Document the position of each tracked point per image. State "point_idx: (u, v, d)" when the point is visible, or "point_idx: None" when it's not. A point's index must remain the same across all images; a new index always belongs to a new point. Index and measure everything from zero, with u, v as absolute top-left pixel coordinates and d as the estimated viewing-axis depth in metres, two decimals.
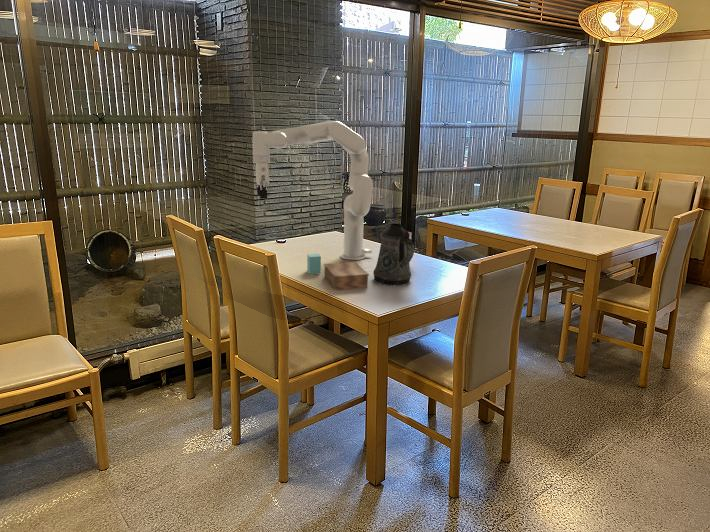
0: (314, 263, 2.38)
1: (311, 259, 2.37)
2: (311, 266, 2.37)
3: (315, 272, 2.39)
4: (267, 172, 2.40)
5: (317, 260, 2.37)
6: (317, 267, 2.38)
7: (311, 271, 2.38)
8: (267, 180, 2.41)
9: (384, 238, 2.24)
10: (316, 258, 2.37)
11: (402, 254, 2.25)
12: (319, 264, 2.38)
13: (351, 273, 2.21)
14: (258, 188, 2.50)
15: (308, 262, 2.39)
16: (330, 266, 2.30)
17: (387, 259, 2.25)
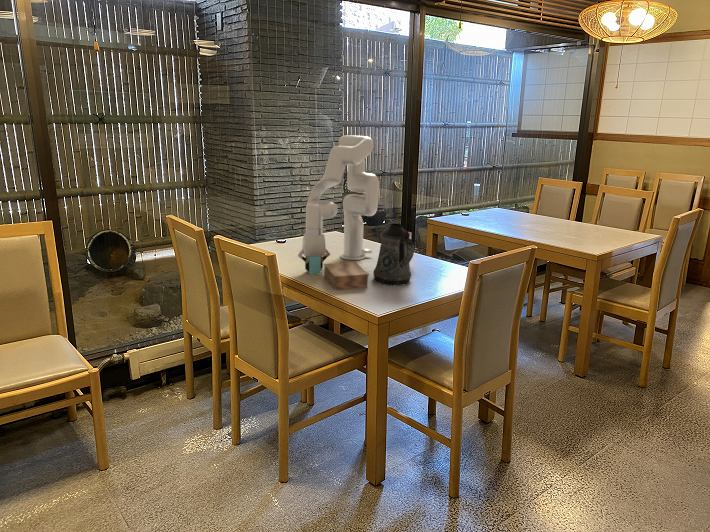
0: (314, 263, 2.37)
1: (311, 259, 2.37)
2: (311, 266, 2.37)
3: (315, 272, 2.39)
4: None
5: (317, 260, 2.37)
6: (317, 267, 2.38)
7: (311, 271, 2.38)
8: None
9: (384, 238, 2.24)
10: (316, 258, 2.37)
11: (402, 254, 2.25)
12: (319, 264, 2.38)
13: (351, 273, 2.21)
14: None
15: None
16: (330, 266, 2.30)
17: (387, 259, 2.25)
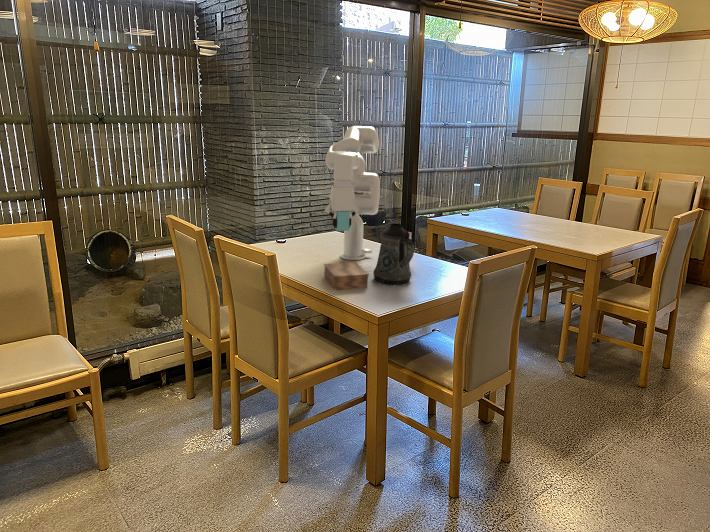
0: (342, 219, 2.20)
1: (339, 214, 2.19)
2: (339, 222, 2.20)
3: (343, 229, 2.21)
4: None
5: (345, 216, 2.20)
6: (345, 223, 2.21)
7: (339, 227, 2.21)
8: None
9: (384, 238, 2.24)
10: (344, 213, 2.20)
11: (402, 254, 2.25)
12: (348, 220, 2.21)
13: (351, 273, 2.21)
14: (336, 220, 2.21)
15: (336, 218, 2.22)
16: (330, 266, 2.30)
17: (387, 259, 2.25)
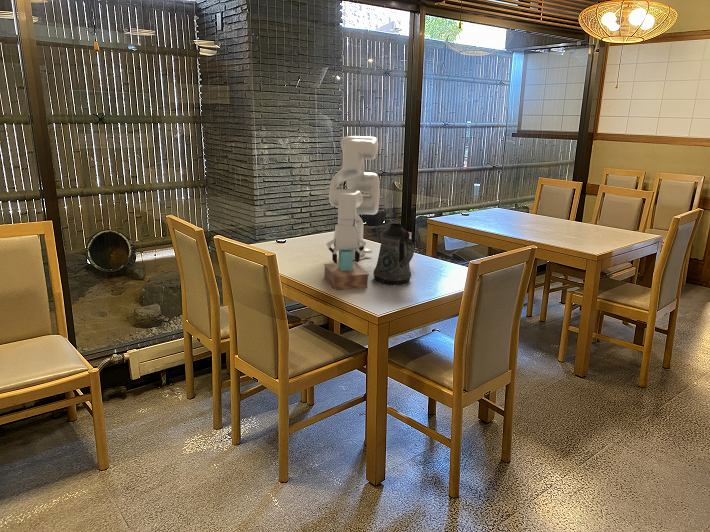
0: (346, 259, 2.23)
1: (343, 255, 2.22)
2: (343, 262, 2.23)
3: (347, 268, 2.24)
4: None
5: (349, 256, 2.23)
6: (349, 263, 2.24)
7: (343, 267, 2.24)
8: None
9: (384, 238, 2.24)
10: (348, 253, 2.23)
11: (402, 254, 2.25)
12: (351, 260, 2.24)
13: (351, 273, 2.21)
14: (336, 255, 2.23)
15: (339, 258, 2.25)
16: (330, 266, 2.30)
17: (387, 259, 2.25)
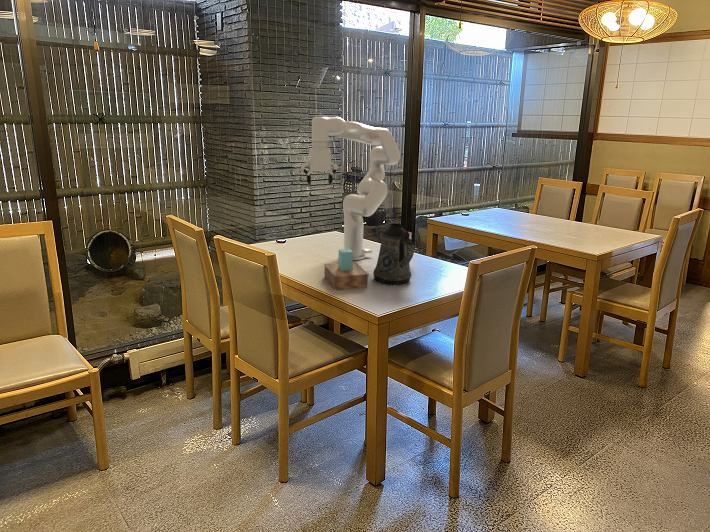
0: (346, 259, 2.23)
1: (343, 255, 2.22)
2: (343, 262, 2.23)
3: (347, 268, 2.24)
4: None
5: (349, 256, 2.23)
6: (349, 263, 2.24)
7: (343, 267, 2.24)
8: None
9: (384, 238, 2.24)
10: (348, 253, 2.23)
11: (402, 254, 2.25)
12: (351, 260, 2.24)
13: (351, 273, 2.21)
14: (310, 176, 2.40)
15: (339, 258, 2.25)
16: (330, 266, 2.30)
17: (387, 259, 2.25)
